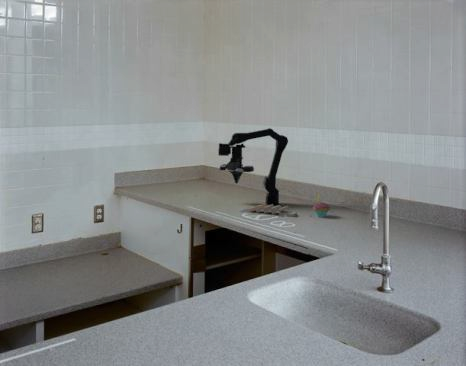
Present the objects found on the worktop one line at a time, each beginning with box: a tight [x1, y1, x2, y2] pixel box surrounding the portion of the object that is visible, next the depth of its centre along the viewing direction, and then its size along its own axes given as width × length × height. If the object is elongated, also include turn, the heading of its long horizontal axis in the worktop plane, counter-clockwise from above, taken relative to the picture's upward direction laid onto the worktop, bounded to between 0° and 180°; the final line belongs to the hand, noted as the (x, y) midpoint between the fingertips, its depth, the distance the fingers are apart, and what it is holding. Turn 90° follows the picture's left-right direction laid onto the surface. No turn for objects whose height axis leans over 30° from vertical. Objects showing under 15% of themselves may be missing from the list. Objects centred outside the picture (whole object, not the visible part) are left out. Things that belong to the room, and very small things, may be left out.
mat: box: [239, 208, 285, 218], centre depth 291 cm, size 25×9×1 cm, turn 64°
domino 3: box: [264, 204, 282, 214], centre depth 288 cm, size 2×5×8 cm
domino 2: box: [256, 204, 275, 213], centre depth 290 cm, size 2×5×8 cm
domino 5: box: [279, 210, 298, 218], centre depth 285 cm, size 2×5×8 cm
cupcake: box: [312, 194, 331, 218], centre depth 284 cm, size 9×8×12 cm
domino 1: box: [248, 202, 267, 212], centre depth 292 cm, size 2×5×8 cm
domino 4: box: [271, 205, 290, 215], centre depth 286 cm, size 2×5×8 cm
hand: (236, 183), depth 311 cm, fingers closed
